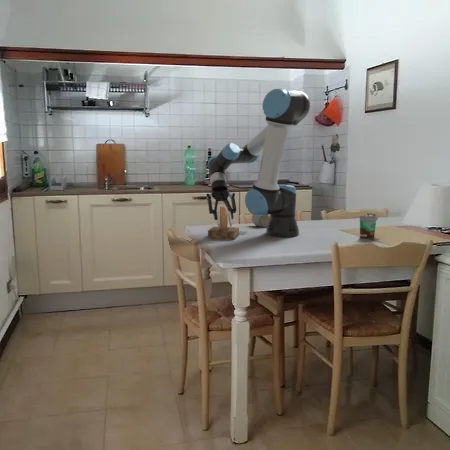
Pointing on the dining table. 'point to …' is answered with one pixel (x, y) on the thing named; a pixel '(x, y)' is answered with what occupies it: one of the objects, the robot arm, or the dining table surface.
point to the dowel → (223, 218)
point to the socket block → (223, 233)
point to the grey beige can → (261, 220)
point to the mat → (242, 233)
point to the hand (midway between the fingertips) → (225, 224)
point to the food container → (368, 225)
